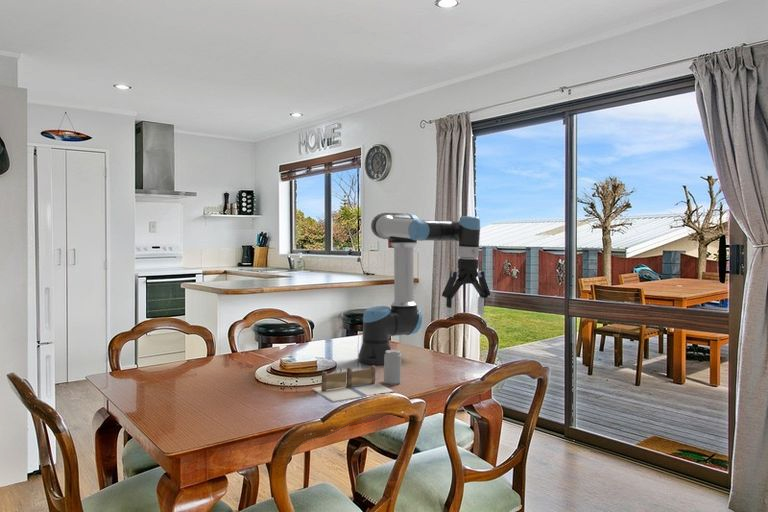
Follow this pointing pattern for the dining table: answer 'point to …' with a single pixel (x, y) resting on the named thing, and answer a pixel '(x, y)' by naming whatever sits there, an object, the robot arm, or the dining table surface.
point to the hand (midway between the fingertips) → (465, 315)
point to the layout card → (352, 391)
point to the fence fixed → (360, 376)
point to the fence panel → (333, 380)
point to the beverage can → (392, 367)
